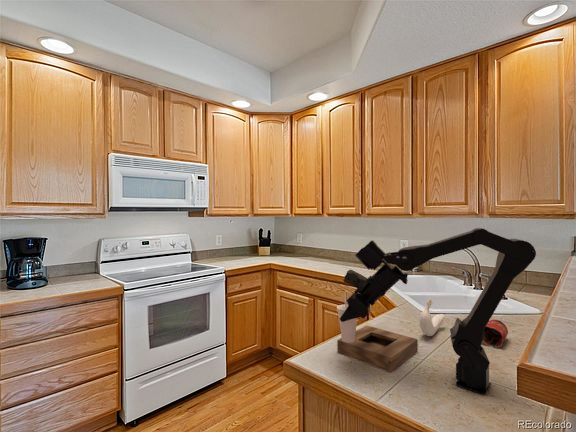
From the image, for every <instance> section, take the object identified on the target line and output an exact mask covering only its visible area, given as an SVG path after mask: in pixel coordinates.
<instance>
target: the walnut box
mask: <svg viewBox="0 0 576 432" xmlns="http://www.w3.org/2000/svg"><path fill="white" fill-rule="evenodd" d="M336 341H337V342H336V343H337V344H336V346H337V348H336V349H337V351H336V352H337V354H340V355H343V356H345V357H349V358H351V359H354V360H356V361H359V362H362V363H365V364H367V365H370V366H374V367H376V368H378V369H381V370H384V371H386V372H390V373H393V372H394V371H395V370H397V369H398V368H399V367H400V366H401V365H403V364H404V363H405V362H407V361H408V360H410V359H411V358H412V357H413V356H414V355H416V353H418V344H419V343H418V342H419V341H418V339H417V338H415V337H410V336H408V335H407V336H406V335H403V334H400V333H397V332H392V331H388V330H385V329H381V328H378V327H374V326H370V325H364V326H363V327H360V328H359V329H356V333H355V341H354V342H352V343H347V342H343V341H342V337H340V338H339V339H337V340H336Z"/></svg>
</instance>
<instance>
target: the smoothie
mask: <svg viewBox="0 0 576 432" xmlns="http://www.w3.org/2000/svg"><path fill="white" fill-rule="evenodd" d="M347 294H348V292H347V291H345V292H344V304H339V305H338V306H336V312H337V315H338V321H339V328H340V329H339V330H340V336H341V337H340V338H342V341H343V342H347V343H352V342H354V341H355V333H356V331H357V323H358V322H357V321H358V318H355V319H351V320H348V321H344V322H341V321H340V318H341V316H342V315H343V313H344V312H345V310H346V309H347V307H348V303H347V301H346V300H347V299H348V296H347Z"/></svg>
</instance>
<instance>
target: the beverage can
mask: <svg viewBox="0 0 576 432" xmlns="http://www.w3.org/2000/svg"><path fill="white" fill-rule="evenodd" d="M508 334H509V329H508V328H507V326H506V324H505V323H504V322H502V321H501V320H498V319H490V320H489V322H488V323H487V325H486V327H485V329H484V335H483V340H482V343H483V345H485V346H487V347H488V348H490V347H491V346H490V344H491V343H492V342H493V341H494V340H495V339H498V340H497V342H496V343H495V346H493V348H494V349H496V348H499V347H502V345H503V343H504V341H505V339H507V336H508Z"/></svg>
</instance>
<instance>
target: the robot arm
mask: <svg viewBox="0 0 576 432" xmlns="http://www.w3.org/2000/svg"><path fill="white" fill-rule="evenodd" d="M480 245H482V246H484V247H486V248H489V249H491V250H493V251H496V252H498V253H497V256H496V261H495V266H494V270H493V271H492V274H491V275H490V277H489V278H488V281H487V282H486V283H485V286H484V287H483V289H482V290H481V293H480V295H479V296H478V298H477V299H476V301H475V303H474V305H473V307H472V309H471V310H470V312H469V314H468V315H467V316H466V317H465V318H463V319H462V320H461V319H460V318H459V317H456V319H455V322H454V325H453V326H452V327H451V328H449V332H450V341H451V346H452V348H453V349H452V350H453V351H454V352H455V354H456V355H457V356H459V357H458V358H457V362H456V364H455V379H456V382H455V386H458V387H460V388H463V389H466V390H470V391H472V392H475V393H477V394H481V395H484V396H485V395H486V394H487V393H488V392H489V390H490V388H491V387H492V383H491V382H490V364H491V362H490V359H489V357H488V355H487V353H486V350H485V348H484V347H483V346H482V343H483V342H482V340H483V335H484V329H485V327H486V325H487V323H488V322H489V321H490V320H491V318H492V317H493V315H494V313H495V311H496V309H498V306H499V304H501V301H502V300H503V298H504V296H505V294H506V293H507V291H508V289H509V287H510V285H511V284H512V282H513V281H514V280H515V278H517V276H519V275H520V274H521V273H523V272H524V271H526V269H527V268H528V267H529V266H530V264H531V263H533V261H534V260H536V256H537V251H536V249H535V246H534V245H533V244H532V243H531V242H528V241H526V240H522V239H518V238H507V237H504V236H502V235H498V234H495V233H494V232H490V231H489V230H487V229H486V228H482V227H476V228H473V229H472V230H469V231H466V232H463V233H459V234H457V235H453V236H451V237H447V238H444V239H441V240H438V241H434V242H431V243H429V244H421V245H412V246H405V247H401V248H400V249H399V250H398V251H393V252H390V251H389V252H385V251H384V250H383V249H381V247H380V246H378V244H377V243H376V242H375V240H370V241H369V242H368V243H367V244H366V245H365V246H363V247H361V248H360V250H358V252H357V253H355V255H354V256H355V258H356V259H357V260H358V261H359V262H360V263H361V264H362V265H364V267H366V269H368V270H371V271H372V270H373V271H375V270H376V269H378V268H379V266H381V265H382V264H383V265H382V266H381V267H380V268H379V269H378V270H376V272H375V273H374V274H372V275H369V276H368V277H366V276H365V275H363V274H360V273H359V272H357V271H354V270H353V269H349V270H347V271H346V274H345V275H344V278H343V282H344V283H346V284H349V285H350V286H352V287H353V288H354V287H355V288H356V289H355V290H354V292H353V293H352V294H351V295H349V297H347V300H346V301H347V304H348V307H347V309H346V310H345V312H344V313H343V315H342V316H341V318H340V321H341V322H344V321H348V320H351V319H355V318H357V319H358V318H361V319H364V318H366V317H367V316H368V315H369V313H370V311H371V307H373V306H374V305H375V304H376V302H377V301H378V300H380V298H381V297H384V296H385V295H386V293H387V291H389V290H391V288H392V287H394V286H395V284H397V283H398V282H399V281H401V282H402V283H403V284H404V285H407V284H408V277H409V276H408V275H409V273H408V272H403V271H411V270H414V269H416V268H418V267H420V266H422V265H424V264H426V263H427V262H429V261H430V260H433V259H436V258H439V257H443V256H445V255H450V254H452V253H456V252H460V251H462V250H463V251H464V250H466V249H469V248H473V247H475V246H480ZM393 265H394V266H393Z"/></svg>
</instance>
